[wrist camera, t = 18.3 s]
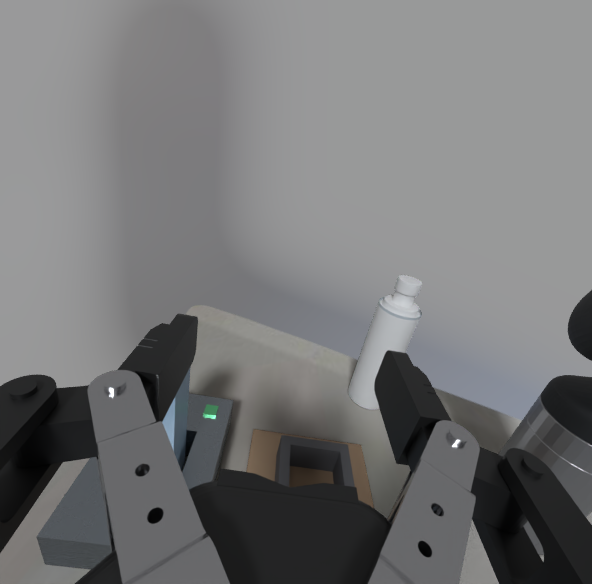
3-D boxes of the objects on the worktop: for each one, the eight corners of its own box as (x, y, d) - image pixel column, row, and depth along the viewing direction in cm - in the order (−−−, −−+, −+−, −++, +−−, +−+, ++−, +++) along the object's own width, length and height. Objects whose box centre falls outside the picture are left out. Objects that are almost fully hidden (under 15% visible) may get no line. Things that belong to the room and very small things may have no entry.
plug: (149, 457, 38) (146, 330, 30) (184, 462, 38) (192, 337, 30) (131, 494, 34) (123, 358, 26) (171, 498, 34) (176, 366, 26)
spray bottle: (347, 379, 59) (388, 258, 48) (381, 387, 58) (430, 267, 48) (348, 405, 52) (396, 272, 42) (386, 414, 52) (443, 283, 42)
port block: (140, 409, 44) (139, 384, 42) (230, 422, 45) (233, 398, 43) (44, 564, 27) (35, 534, 25) (189, 580, 28) (192, 553, 26)
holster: (253, 432, 44) (257, 408, 42) (359, 447, 45) (368, 426, 43) (229, 571, 29) (234, 545, 27) (388, 589, 31) (403, 565, 29)
